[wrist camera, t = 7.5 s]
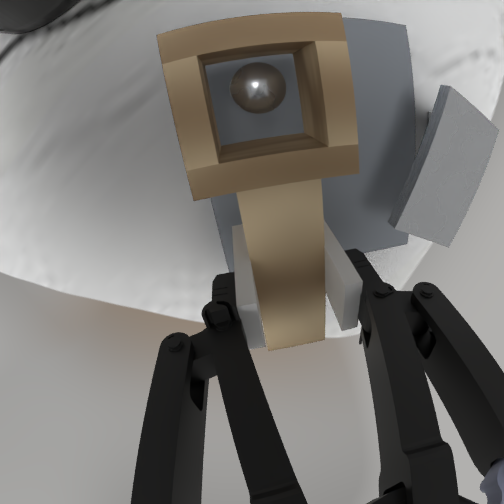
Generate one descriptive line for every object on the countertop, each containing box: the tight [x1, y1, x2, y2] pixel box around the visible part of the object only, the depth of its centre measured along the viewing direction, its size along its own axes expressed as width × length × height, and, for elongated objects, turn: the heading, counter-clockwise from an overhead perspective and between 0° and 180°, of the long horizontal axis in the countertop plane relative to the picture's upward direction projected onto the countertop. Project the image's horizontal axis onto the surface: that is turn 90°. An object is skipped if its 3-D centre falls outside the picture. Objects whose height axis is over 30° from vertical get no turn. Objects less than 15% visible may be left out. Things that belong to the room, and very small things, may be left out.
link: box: [157, 12, 359, 351], centre depth 14 cm, size 17×7×4 cm, turn 9°
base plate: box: [205, 18, 415, 273], centre depth 20 cm, size 20×17×2 cm
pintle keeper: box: [229, 62, 499, 247], centre depth 17 cm, size 13×19×8 cm
